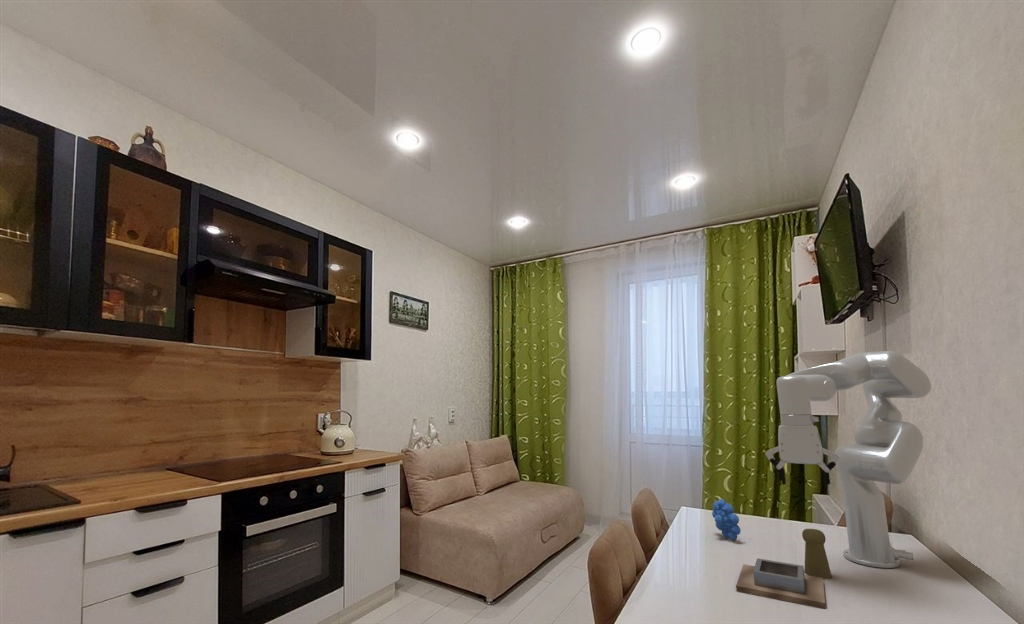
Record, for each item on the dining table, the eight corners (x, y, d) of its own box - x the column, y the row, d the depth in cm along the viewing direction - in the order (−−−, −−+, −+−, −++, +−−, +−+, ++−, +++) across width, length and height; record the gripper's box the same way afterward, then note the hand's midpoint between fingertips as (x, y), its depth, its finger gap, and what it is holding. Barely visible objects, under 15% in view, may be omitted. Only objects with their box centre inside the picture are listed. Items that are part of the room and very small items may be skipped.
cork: (832, 580, 117) (827, 534, 119) (804, 575, 120) (799, 530, 122) (831, 572, 122) (826, 528, 124) (804, 568, 125) (799, 525, 127)
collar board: (823, 583, 115) (822, 577, 116) (825, 608, 102) (825, 603, 102) (743, 569, 125) (743, 564, 125) (736, 591, 111) (735, 585, 112)
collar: (804, 578, 115) (803, 565, 116) (804, 594, 107) (803, 580, 107) (758, 570, 121) (757, 558, 121) (754, 584, 112) (753, 571, 113)
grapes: (704, 534, 155) (701, 496, 157) (721, 532, 156) (718, 495, 158) (729, 545, 143) (725, 505, 145) (746, 543, 145) (743, 503, 147)
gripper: (834, 420, 126) (843, 485, 123) (762, 419, 135) (769, 480, 133) (834, 422, 120) (844, 491, 117) (760, 421, 129) (767, 485, 126)
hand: (804, 485), depth 125 cm, fingers open, 9 cm apart
